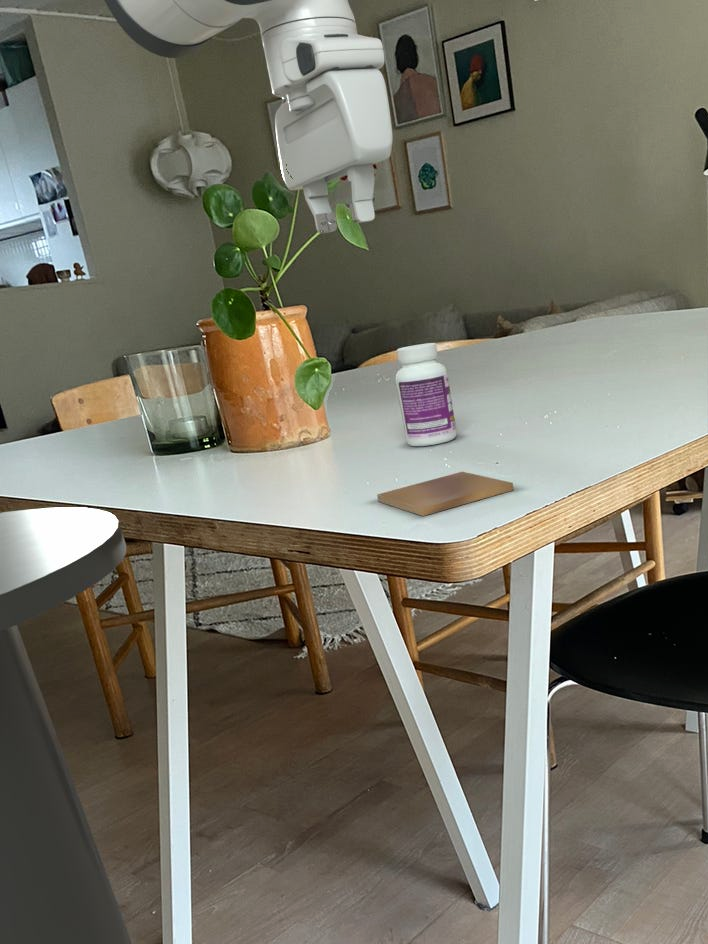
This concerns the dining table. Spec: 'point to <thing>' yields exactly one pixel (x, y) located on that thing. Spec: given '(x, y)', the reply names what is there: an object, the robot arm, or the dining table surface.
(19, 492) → the dining table surface
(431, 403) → the pill bottle
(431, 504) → the coaster
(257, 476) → the dining table surface
